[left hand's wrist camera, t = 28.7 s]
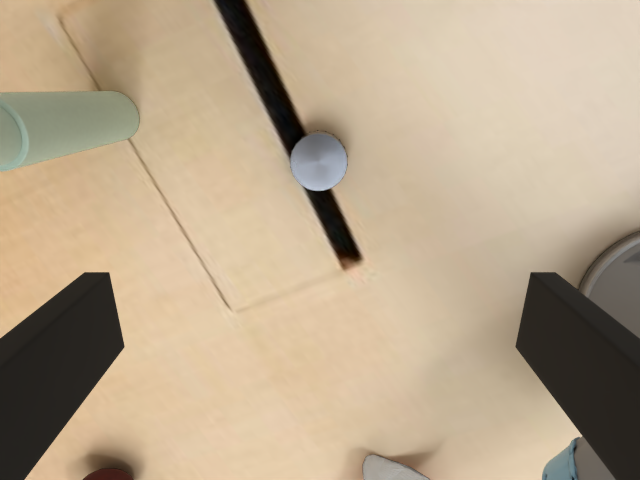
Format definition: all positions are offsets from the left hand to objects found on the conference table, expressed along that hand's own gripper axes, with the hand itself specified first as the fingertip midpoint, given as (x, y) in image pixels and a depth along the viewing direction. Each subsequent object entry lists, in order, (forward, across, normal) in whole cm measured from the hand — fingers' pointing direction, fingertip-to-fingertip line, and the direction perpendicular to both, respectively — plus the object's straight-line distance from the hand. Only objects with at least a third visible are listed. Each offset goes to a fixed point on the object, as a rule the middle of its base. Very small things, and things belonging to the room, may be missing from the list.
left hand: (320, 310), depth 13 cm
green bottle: (+28, +19, -4) cm, 34 cm away
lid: (+26, 0, 0) cm, 26 cm away
